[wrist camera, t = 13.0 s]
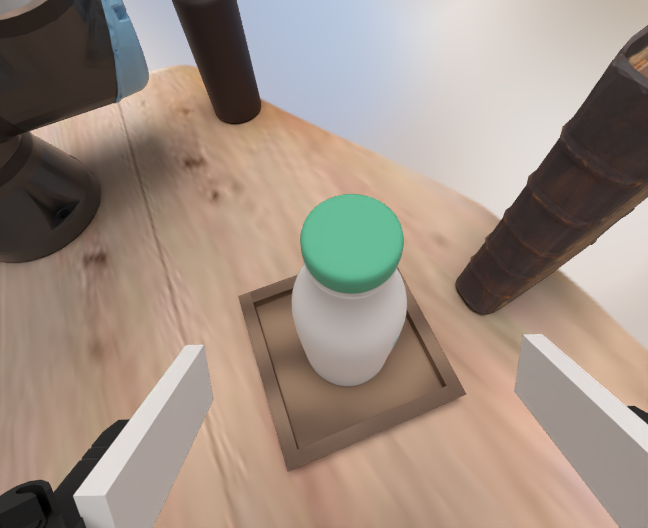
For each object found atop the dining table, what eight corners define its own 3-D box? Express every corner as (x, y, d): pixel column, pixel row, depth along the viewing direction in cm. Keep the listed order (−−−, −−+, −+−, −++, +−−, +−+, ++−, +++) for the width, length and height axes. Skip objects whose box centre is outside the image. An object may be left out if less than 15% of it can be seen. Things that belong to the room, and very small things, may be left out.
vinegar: (209, 103, 51) (138, -77, 33) (251, 87, 52) (204, -94, 35) (224, 131, 48) (156, -49, 30) (268, 114, 49) (228, -69, 32)
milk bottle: (366, 403, 30) (402, 352, 12) (291, 363, 32) (228, 268, 14) (399, 327, 33) (466, 198, 15) (328, 294, 35) (315, 145, 17)
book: (478, 323, 34) (730, 110, 12) (433, 268, 37) (569, 16, 15) (597, 247, 37) (971, -31, 15) (547, 203, 40) (799, -85, 18)
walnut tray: (244, 304, 36) (238, 296, 34) (382, 254, 38) (384, 243, 36) (291, 469, 29) (287, 471, 27) (457, 397, 31) (466, 394, 29)
